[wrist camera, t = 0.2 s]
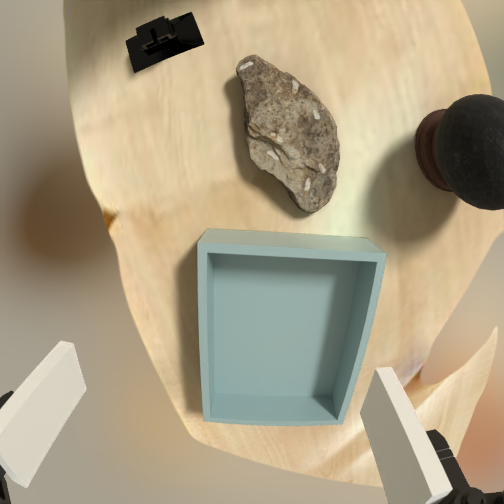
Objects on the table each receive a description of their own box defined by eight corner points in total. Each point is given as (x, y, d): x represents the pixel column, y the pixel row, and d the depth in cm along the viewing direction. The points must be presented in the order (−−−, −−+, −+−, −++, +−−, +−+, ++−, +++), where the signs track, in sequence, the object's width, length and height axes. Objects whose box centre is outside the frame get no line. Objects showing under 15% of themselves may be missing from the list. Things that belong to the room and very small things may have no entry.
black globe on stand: (390, 132, 34) (458, 123, 19) (453, 87, 31) (525, 69, 17) (438, 217, 37) (509, 248, 22) (494, 167, 34) (566, 179, 20)
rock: (368, 156, 35) (379, 156, 32) (308, 216, 37) (313, 222, 34) (259, 50, 32) (259, 40, 28) (197, 111, 34) (190, 106, 31)
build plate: (126, 84, 33) (111, 77, 29) (114, 41, 31) (99, 31, 27) (218, 46, 32) (212, 33, 27) (201, 4, 30) (195, -12, 25)
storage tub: (207, 228, 38) (197, 242, 32) (368, 238, 38) (386, 253, 31) (209, 392, 45) (203, 421, 39) (334, 395, 45) (342, 424, 39)
